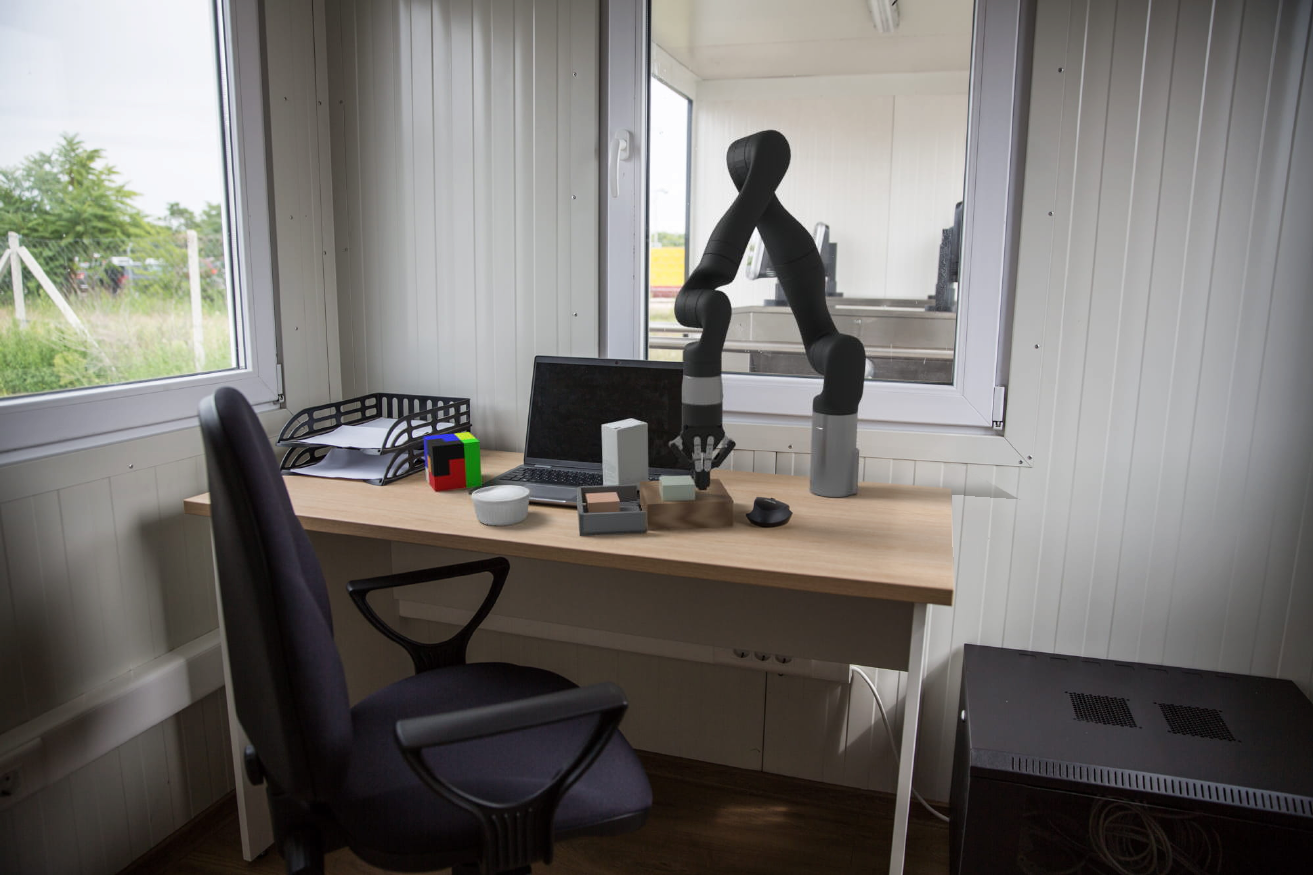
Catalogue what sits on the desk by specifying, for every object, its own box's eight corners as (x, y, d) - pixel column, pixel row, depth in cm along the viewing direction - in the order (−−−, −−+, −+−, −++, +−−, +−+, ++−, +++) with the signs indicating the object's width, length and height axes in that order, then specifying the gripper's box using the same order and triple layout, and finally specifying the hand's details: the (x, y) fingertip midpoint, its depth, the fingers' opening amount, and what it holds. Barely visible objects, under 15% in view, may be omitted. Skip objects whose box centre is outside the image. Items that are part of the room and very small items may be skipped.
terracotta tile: (585, 493, 171) (585, 508, 172) (588, 502, 165) (588, 517, 166) (616, 492, 172) (616, 506, 172) (619, 501, 166) (620, 516, 167)
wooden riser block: (718, 502, 177) (718, 478, 176) (733, 526, 162) (733, 500, 161) (639, 505, 175) (639, 481, 174) (647, 530, 161) (647, 504, 159)
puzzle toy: (426, 480, 194) (423, 436, 192) (471, 475, 198) (468, 432, 196) (435, 492, 185) (432, 446, 183) (481, 486, 189) (479, 441, 187)
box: (636, 503, 176) (636, 484, 176) (645, 533, 159) (645, 512, 158) (577, 505, 175) (576, 486, 174) (579, 535, 158) (579, 514, 157)
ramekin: (497, 506, 175) (496, 481, 174) (543, 514, 170) (542, 488, 169) (460, 522, 166) (458, 496, 164) (507, 531, 160) (506, 504, 159)
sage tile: (690, 490, 168) (690, 475, 167) (695, 499, 162) (695, 484, 161) (659, 491, 167) (659, 476, 166) (662, 501, 161) (662, 485, 161)
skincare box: (632, 484, 190) (631, 417, 186) (650, 490, 185) (649, 422, 182) (601, 491, 185) (599, 422, 181) (618, 498, 180) (617, 427, 177)
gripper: (733, 394, 165) (732, 482, 169) (664, 396, 163) (664, 485, 167) (741, 401, 158) (740, 493, 162) (669, 404, 156) (669, 496, 160)
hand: (701, 489), depth 165 cm, fingers closed
